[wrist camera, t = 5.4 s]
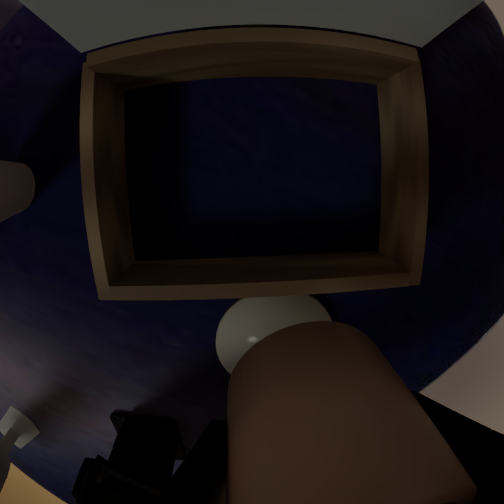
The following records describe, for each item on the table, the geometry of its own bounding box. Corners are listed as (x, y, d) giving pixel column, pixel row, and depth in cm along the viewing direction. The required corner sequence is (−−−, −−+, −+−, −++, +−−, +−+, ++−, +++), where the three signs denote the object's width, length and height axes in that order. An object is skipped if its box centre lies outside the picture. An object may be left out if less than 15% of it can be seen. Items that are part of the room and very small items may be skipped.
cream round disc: (326, 378, 22) (328, 383, 21) (221, 385, 22) (221, 390, 21) (336, 282, 20) (339, 286, 19) (211, 288, 20) (210, 292, 19)
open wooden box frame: (387, 261, 19) (503, 351, 8) (126, 272, 19) (25, 381, 7) (381, 43, 15) (489, -33, 4) (116, 49, 15) (12, -33, 3)
